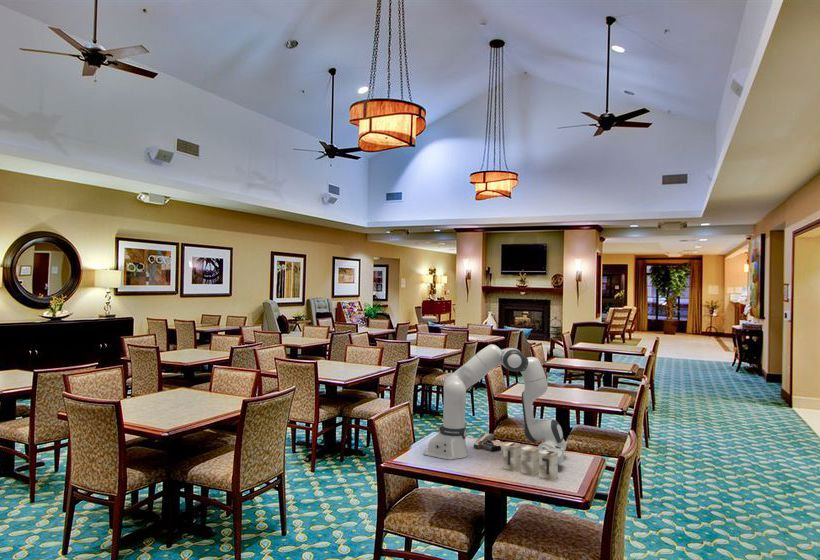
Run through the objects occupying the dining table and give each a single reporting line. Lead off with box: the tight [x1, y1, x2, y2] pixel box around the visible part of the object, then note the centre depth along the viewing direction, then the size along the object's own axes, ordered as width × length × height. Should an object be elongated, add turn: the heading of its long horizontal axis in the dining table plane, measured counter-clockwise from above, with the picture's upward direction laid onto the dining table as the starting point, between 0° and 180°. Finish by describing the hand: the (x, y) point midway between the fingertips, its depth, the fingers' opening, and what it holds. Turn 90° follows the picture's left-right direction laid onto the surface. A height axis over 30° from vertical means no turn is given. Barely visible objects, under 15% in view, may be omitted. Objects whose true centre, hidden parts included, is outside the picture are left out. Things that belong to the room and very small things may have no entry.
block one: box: [502, 441, 522, 472], centre depth 241 cm, size 6×6×11 cm
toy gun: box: [473, 433, 502, 453], centre depth 280 cm, size 3×29×15 cm
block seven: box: [538, 450, 559, 482], centre depth 229 cm, size 6×6×11 cm
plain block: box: [520, 445, 539, 477], centre depth 235 cm, size 6×6×11 cm
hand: (534, 458), depth 238 cm, fingers closed
